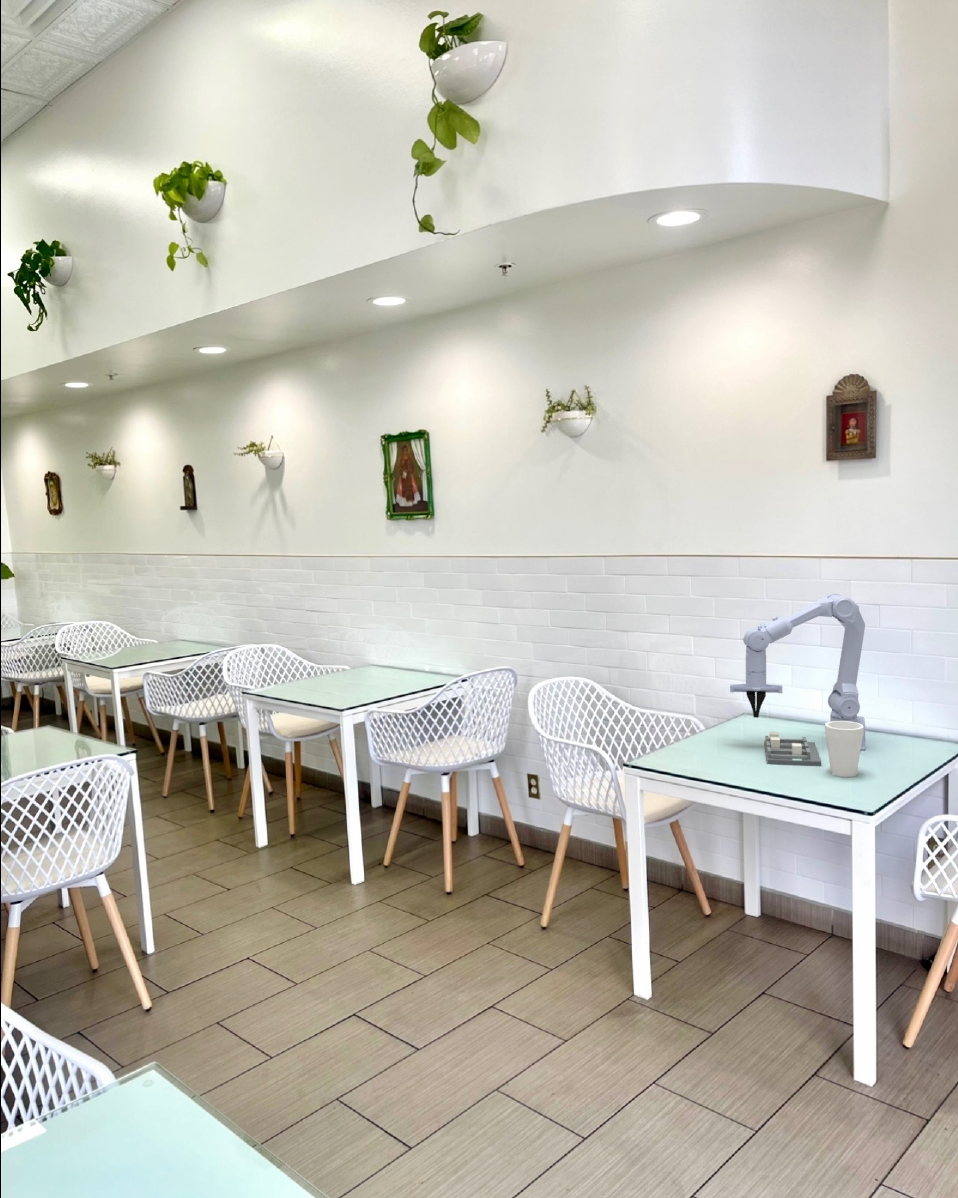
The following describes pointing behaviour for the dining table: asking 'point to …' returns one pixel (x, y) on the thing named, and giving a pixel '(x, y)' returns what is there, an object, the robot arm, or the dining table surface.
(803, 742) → the switch bank
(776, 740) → the tab
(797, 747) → the tab
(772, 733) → the tab
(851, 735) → the foam cup
